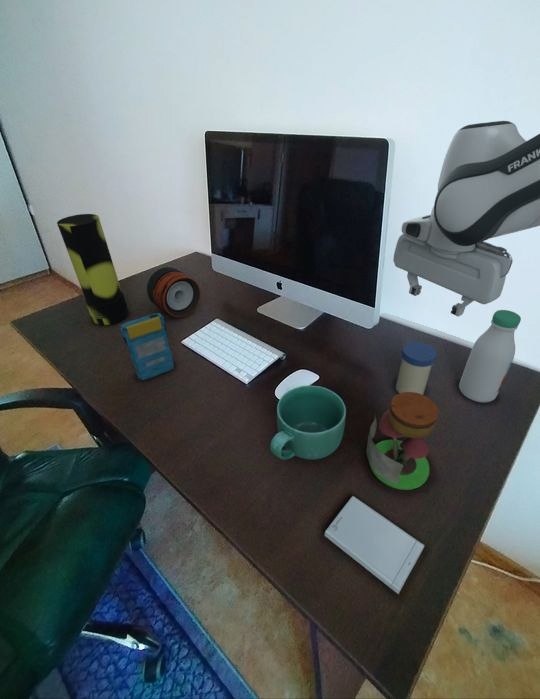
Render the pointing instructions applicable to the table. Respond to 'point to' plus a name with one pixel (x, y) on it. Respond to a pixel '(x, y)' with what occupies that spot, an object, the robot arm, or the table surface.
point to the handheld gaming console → (148, 345)
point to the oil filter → (173, 291)
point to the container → (94, 267)
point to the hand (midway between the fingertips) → (434, 303)
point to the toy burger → (410, 454)
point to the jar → (412, 378)
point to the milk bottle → (490, 358)
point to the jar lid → (419, 354)
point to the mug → (308, 423)
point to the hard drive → (375, 543)
